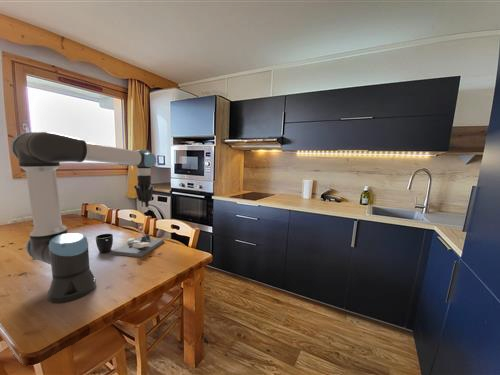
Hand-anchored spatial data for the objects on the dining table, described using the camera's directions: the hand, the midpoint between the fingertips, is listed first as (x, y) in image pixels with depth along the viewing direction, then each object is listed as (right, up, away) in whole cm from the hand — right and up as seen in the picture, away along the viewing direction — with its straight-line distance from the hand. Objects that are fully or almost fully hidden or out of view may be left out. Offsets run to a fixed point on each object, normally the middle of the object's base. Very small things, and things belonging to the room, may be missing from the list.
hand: (145, 211), depth 132 cm
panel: (-2, -22, -3) cm, 22 cm away
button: (-8, -20, -2) cm, 21 cm away
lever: (-2, -18, +4) cm, 19 cm away
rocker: (+3, -18, -10) cm, 21 cm away
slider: (-2, -21, -6) cm, 22 cm away
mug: (-18, -23, -10) cm, 31 cm away
